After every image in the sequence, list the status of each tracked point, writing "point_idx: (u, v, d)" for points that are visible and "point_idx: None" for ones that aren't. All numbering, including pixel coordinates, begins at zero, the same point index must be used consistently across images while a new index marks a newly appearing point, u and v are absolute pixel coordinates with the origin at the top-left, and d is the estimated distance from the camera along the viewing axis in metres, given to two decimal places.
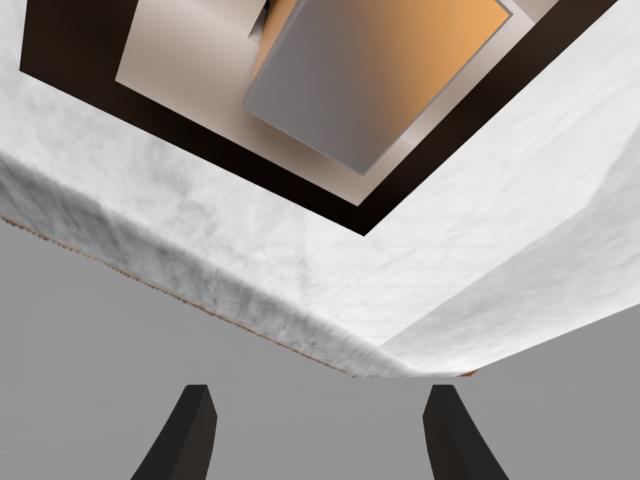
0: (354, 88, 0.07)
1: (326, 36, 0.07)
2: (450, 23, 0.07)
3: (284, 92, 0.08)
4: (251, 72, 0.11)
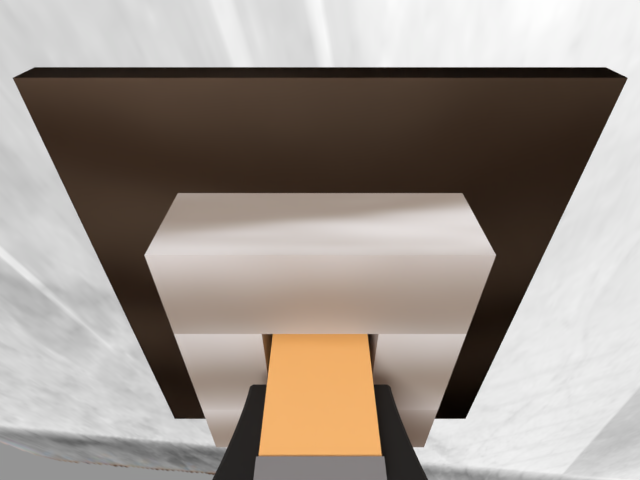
0: None
1: None
2: None
3: None
4: None
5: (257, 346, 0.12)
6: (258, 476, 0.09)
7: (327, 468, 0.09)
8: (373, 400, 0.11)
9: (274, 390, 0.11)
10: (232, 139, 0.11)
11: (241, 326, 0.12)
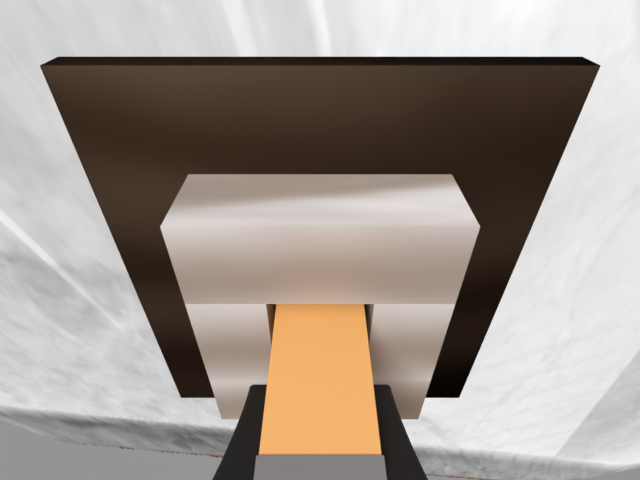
0: None
1: None
2: None
3: None
4: None
5: (261, 316, 0.13)
6: (258, 475, 0.09)
7: (327, 467, 0.09)
8: (373, 399, 0.11)
9: (274, 389, 0.11)
10: (239, 123, 0.12)
11: (247, 296, 0.13)
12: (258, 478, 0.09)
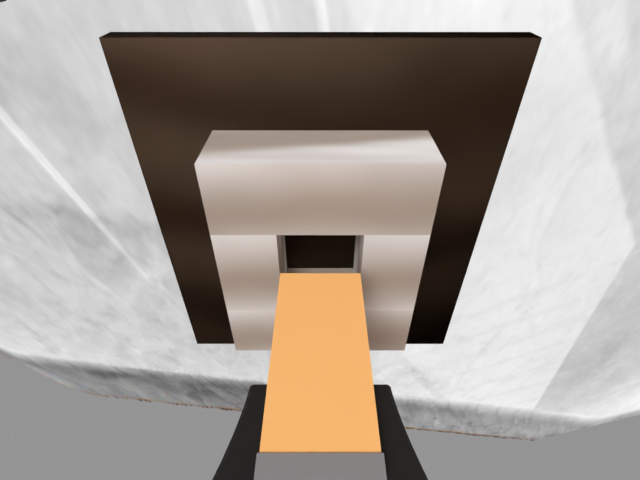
0: None
1: None
2: None
3: None
4: None
5: (272, 246, 0.16)
6: (259, 472, 0.09)
7: (327, 464, 0.09)
8: (373, 397, 0.11)
9: (275, 388, 0.11)
10: (255, 86, 0.15)
11: (261, 228, 0.16)
12: (259, 475, 0.09)
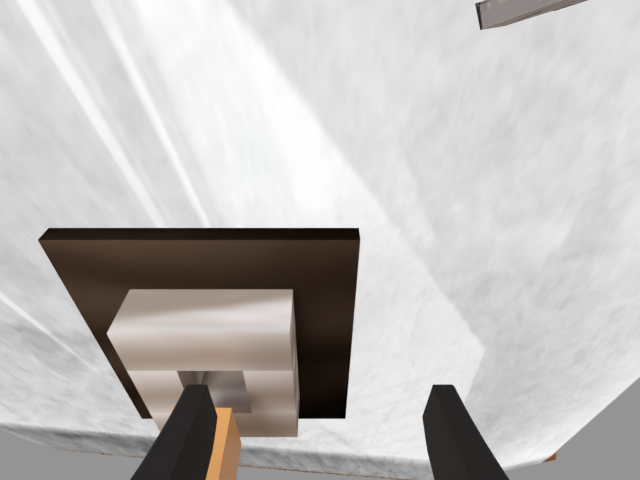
0: None
1: None
2: None
3: None
4: None
5: (175, 376, 0.21)
6: None
7: None
8: None
9: None
10: (157, 265, 0.20)
11: (164, 367, 0.21)
12: None
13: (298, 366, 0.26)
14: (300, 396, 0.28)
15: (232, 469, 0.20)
